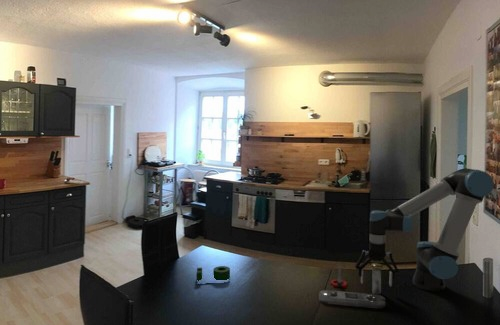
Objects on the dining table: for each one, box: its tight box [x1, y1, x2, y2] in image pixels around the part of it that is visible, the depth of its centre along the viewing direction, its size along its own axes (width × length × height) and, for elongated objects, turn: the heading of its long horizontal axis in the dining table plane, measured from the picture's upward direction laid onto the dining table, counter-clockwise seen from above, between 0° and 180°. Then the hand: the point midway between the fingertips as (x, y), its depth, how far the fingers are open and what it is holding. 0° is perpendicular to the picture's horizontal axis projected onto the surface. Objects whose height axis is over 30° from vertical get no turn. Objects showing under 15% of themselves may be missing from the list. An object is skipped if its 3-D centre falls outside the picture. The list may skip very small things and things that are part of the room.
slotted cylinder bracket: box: [195, 265, 231, 281], centre depth 186 cm, size 18×9×6 cm, turn 95°
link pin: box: [370, 262, 384, 295], centre depth 169 cm, size 5×5×14 cm
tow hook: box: [330, 262, 348, 289], centre depth 180 cm, size 8×13×9 cm
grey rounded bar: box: [318, 289, 386, 309], centre depth 159 cm, size 30×8×4 cm, turn 77°
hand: (376, 283), depth 169 cm, fingers open, 13 cm apart
